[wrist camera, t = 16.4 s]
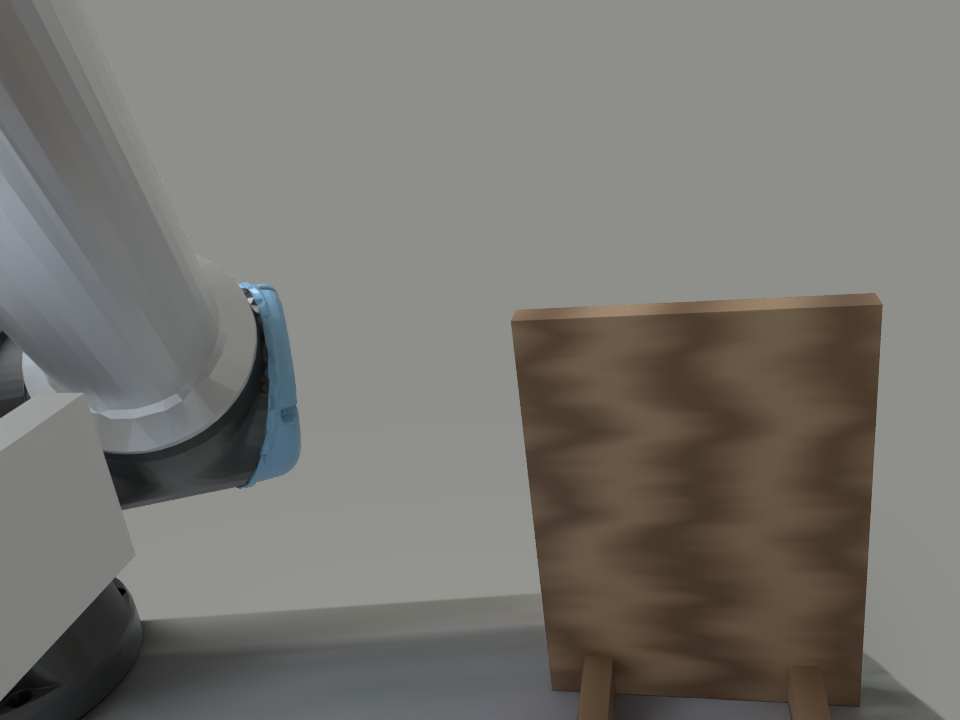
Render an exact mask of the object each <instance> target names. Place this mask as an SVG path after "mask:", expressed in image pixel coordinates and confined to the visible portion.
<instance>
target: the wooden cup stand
mask: <svg viewBox="0 0 960 720" xmlns="http://www.w3.org/2000/svg"><path fill="white" fill-rule="evenodd" d="M882 305H883V304H882V303H881V301H880V300H879V298H878V297H877V295H876V294H875V293H869V294H868V293H867V294H846V295H825V296H804V297H783V298H762V299H740V300H719V301H699V302H677V303H657V304H634V305H615V306H614V305H613V306H593V307H573V308H572V307H571V308H552V309H551V308H549V309H530V310H529V309H528V310H516V311H515V313H514V316H513V318H512V320H511V326H512V334H513V343H514V353H515V361H516V370H517V378H518V388H519V397H520V406H521V415H522V424H523V432H524V442H525V449H526V458H527V468H528V477H529V486H530V494H531V504H532V513H533V521H534V531H535V539H536V549H537V558H538V566H539V575H540V584H541V593H542V602H543V611H544V620H545V629H546V638H547V647H548V656H549V665H550V673H551V682H552V690H561V691H580V699H579V708H578V716H577V720H614V708H615V694H616V693H619V694H638V695H657V696H676V697H695V698H714V699H733V700H753V701H772V702H788V704H789V711H790V717H791V720H831V715H830V711H829V706H828V704H829V705H848V706H860V688H861V671H862V653H863V636H864V619H865V618H864V617H865V601H866V584H867V583H866V582H867V566H868V548H869V531H870V514H871V497H872V478H873V462H874V445H875V427H876V410H877V391H878V375H879V357H880V340H881V323H882Z"/></svg>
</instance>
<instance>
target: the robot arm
mask: <svg viewBox="0 0 960 720" xmlns="http://www.w3.org/2000/svg"><path fill="white" fill-rule="evenodd" d="M296 404H297V398H296V384H295V376H294V369H293V362H292V356H291V349H290V343H289V337H288V331H287V326H286V321H285V316H284V311H283V307H282V303H281V301H280V299H279V297H278V294H277V292H276V290H275V289H274V288H273V287H271V286H269V285H266V284H257V285H253V284H250V283H241V284H237V283H236V281H235V280H234V279H233V278H232V277H231V276H230V275H229V274H228V273H226V272H225V271H224V270H223V269H221V268H220V267H219V266H217V265H216V264H215V263H213V262H211V261H209V260H207V259H205V258H204V257H202V256H199V255H196V254H195V253H194V251H193V249H192V246H191V244H190V242H189V240H188V237H187V235H186V233H185V230H184V228H183V226H182V224H181V222H180V219H179V217H178V215H177V212H176V210H175V208H174V206H173V204H172V201H171V199H170V197H169V194H168V192H167V190H166V188H165V185H164V183H163V181H162V179H161V176H160V175H159V172H158V170H157V168H156V165H155V163H154V161H153V159H152V156H151V154H150V152H149V150H148V147H147V145H146V143H145V140H144V138H143V136H142V134H141V131H140V129H139V127H138V125H137V122H136V120H135V118H134V116H133V114H132V111H131V109H130V107H129V104H128V102H127V100H126V98H125V96H124V93H123V91H122V89H121V86H120V84H119V82H118V80H117V77H116V75H115V73H114V71H113V68H112V66H111V64H110V62H109V59H108V57H107V55H106V53H105V50H104V48H103V46H102V44H101V41H100V39H99V37H98V35H97V32H96V30H95V28H94V26H93V23H92V21H91V19H90V17H89V14H88V12H87V10H86V8H85V5H84V3H83V1H82V0H0V720H77V719H78V718H80V717H81V716H83V715H84V714H85V713H87V712H88V711H89V710H91V709H92V708H93V707H94V706H96V705H97V704H98V703H99V702H100V701H101V700H102V699H104V698H105V697H106V696H107V695H108V694H109V693H110V692H111V691H112V690H113V689H114V688H115V687H116V686H117V685H118V683H119V682H120V681H121V680H122V679H123V677H124V676H125V675H126V673H127V672H128V671H129V669H130V668H131V666H132V664H133V663H134V661H135V659H136V657H137V655H138V652H139V650H140V647H141V642H142V635H143V634H142V625H141V622H140V619H139V616H138V613H137V610H136V606H135V603H134V600H133V598H132V596H131V594H130V592H129V591H128V589H127V588H126V587H125V585H124V584H123V583H122V582H121V581H120V580H118V579H117V578H116V576H117V575H118V574H119V573H120V571H122V569H123V568H124V567H125V566H126V565H127V564H128V563H129V562H130V561H131V560H132V559H133V557H134V556H135V555H136V554H135V551H134V548H133V545H132V541H131V538H130V535H129V532H128V529H127V526H126V522H125V519H124V516H123V513H122V510H126V509H131V508H136V507H141V506H146V505H151V504H155V503H160V502H165V501H169V500H175V499H180V498H184V497H189V496H194V495H199V494H204V493H209V492H214V491H219V490H223V489H228V488H233V487H237V488H239V489H241V488H248V487H251V486H253V485H255V484H256V483H257V482H259V481H263V480H267V479H271V478H274V477H278V476H281V475H284V474H286V473H287V472H289V471H290V470H292V468H293V467H294V466H295V465H296V463H297V462H298V459H299V456H300V450H301V435H300V423H299V415H298V409H297V407H296Z"/></svg>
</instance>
